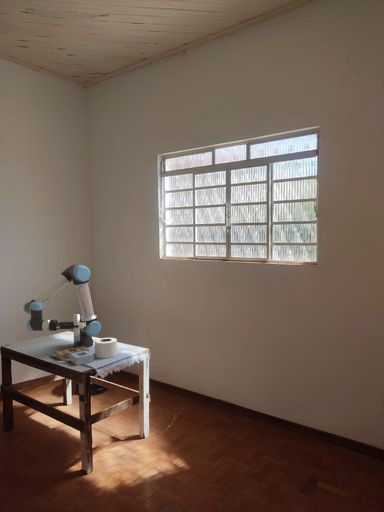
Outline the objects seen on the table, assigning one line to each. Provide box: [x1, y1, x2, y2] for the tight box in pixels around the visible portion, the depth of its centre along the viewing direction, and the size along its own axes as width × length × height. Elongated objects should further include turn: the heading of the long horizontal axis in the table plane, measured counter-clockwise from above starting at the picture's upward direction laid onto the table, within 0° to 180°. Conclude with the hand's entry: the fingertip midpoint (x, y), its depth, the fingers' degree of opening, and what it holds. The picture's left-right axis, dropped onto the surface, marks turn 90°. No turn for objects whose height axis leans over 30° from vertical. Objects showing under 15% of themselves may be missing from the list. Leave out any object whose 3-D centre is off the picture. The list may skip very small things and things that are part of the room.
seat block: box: [69, 350, 95, 366], centre depth 249 cm, size 12×12×5 cm
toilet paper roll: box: [94, 337, 118, 359], centre depth 263 cm, size 16×15×11 cm
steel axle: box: [72, 313, 81, 342], centre depth 250 cm, size 4×4×18 cm
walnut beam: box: [55, 346, 90, 361], centre depth 261 cm, size 20×10×4 cm, turn 130°
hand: (84, 325), depth 250 cm, fingers closed on steel axle, 4 cm apart
